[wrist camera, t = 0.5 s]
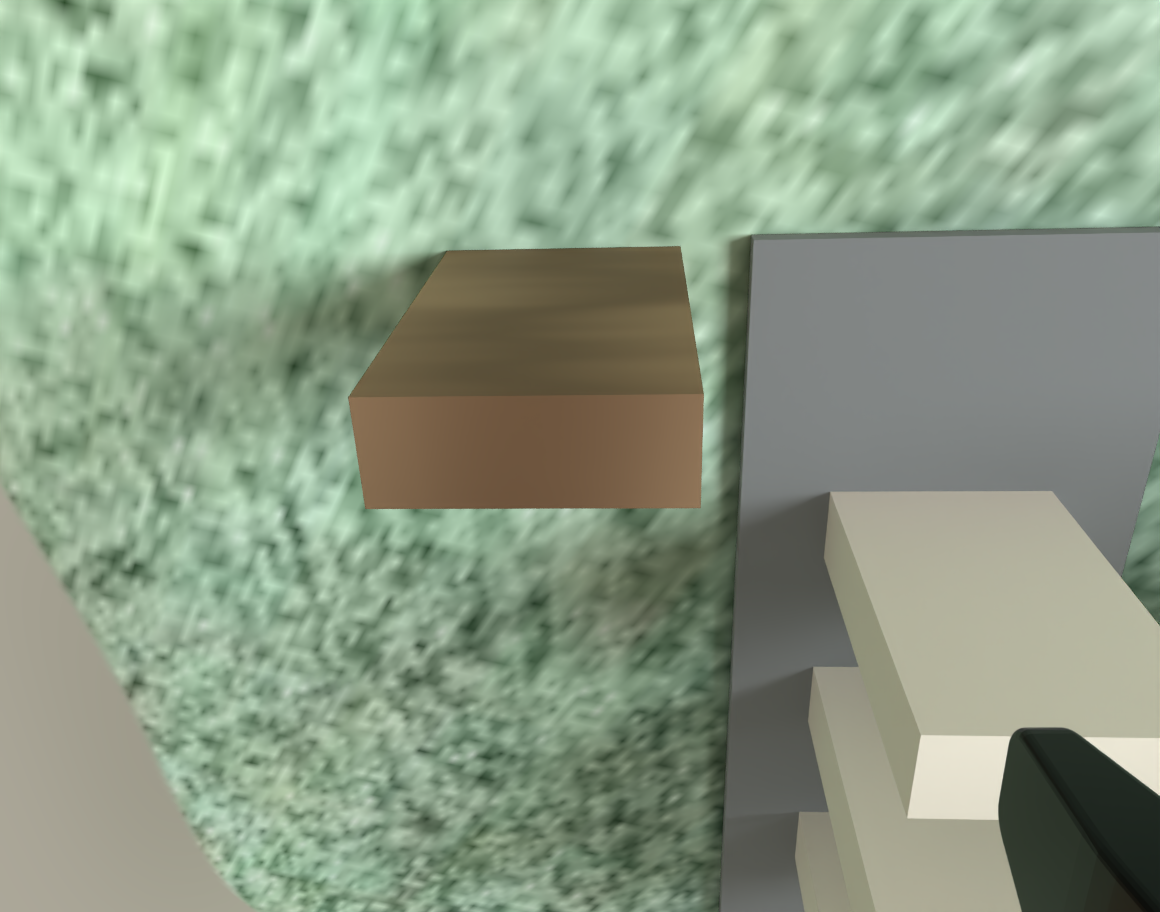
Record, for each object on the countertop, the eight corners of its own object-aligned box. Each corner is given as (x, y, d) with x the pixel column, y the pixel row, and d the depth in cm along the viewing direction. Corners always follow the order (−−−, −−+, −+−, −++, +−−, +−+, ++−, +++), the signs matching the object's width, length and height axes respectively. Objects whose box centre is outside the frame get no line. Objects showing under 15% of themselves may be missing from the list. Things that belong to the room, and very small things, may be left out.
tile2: (1051, 491, 19) (1251, 739, 13) (1037, 558, 20) (1219, 824, 14) (830, 491, 20) (920, 734, 13) (823, 558, 20) (906, 818, 14)
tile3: (1013, 668, 21) (1169, 956, 15) (1001, 723, 22) (1145, 1020, 16) (813, 666, 22) (885, 949, 15) (808, 721, 22) (875, 1012, 16)
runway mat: (1201, 225, 17) (1212, 231, 17) (994, 1027, 28) (998, 1040, 27) (751, 235, 18) (754, 240, 17) (713, 1018, 28) (715, 1031, 28)
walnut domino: (680, 246, 18) (704, 393, 12) (679, 327, 19) (700, 508, 12) (447, 250, 18) (348, 397, 12) (454, 331, 19) (365, 508, 13)
